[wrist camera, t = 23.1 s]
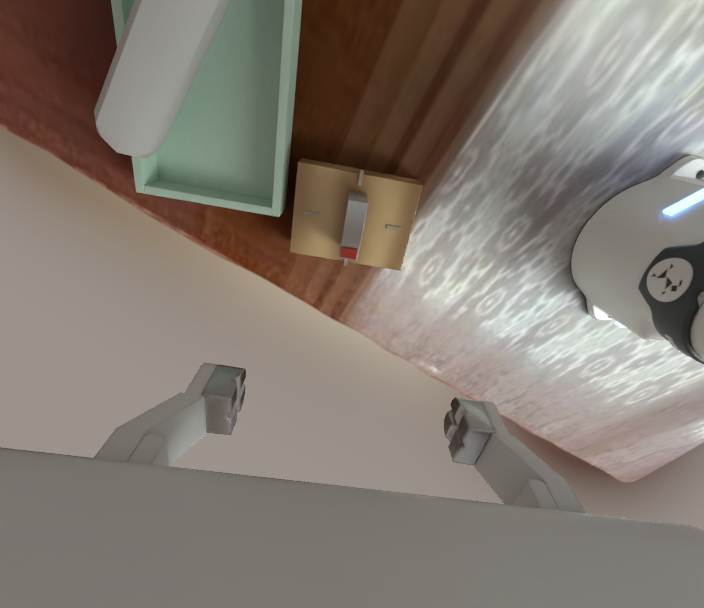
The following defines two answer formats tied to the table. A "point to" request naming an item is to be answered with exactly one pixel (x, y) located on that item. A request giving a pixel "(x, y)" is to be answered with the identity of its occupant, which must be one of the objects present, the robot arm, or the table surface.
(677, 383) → the table surface
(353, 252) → the tap knob
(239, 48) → the green tray
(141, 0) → the tube
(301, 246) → the panel
